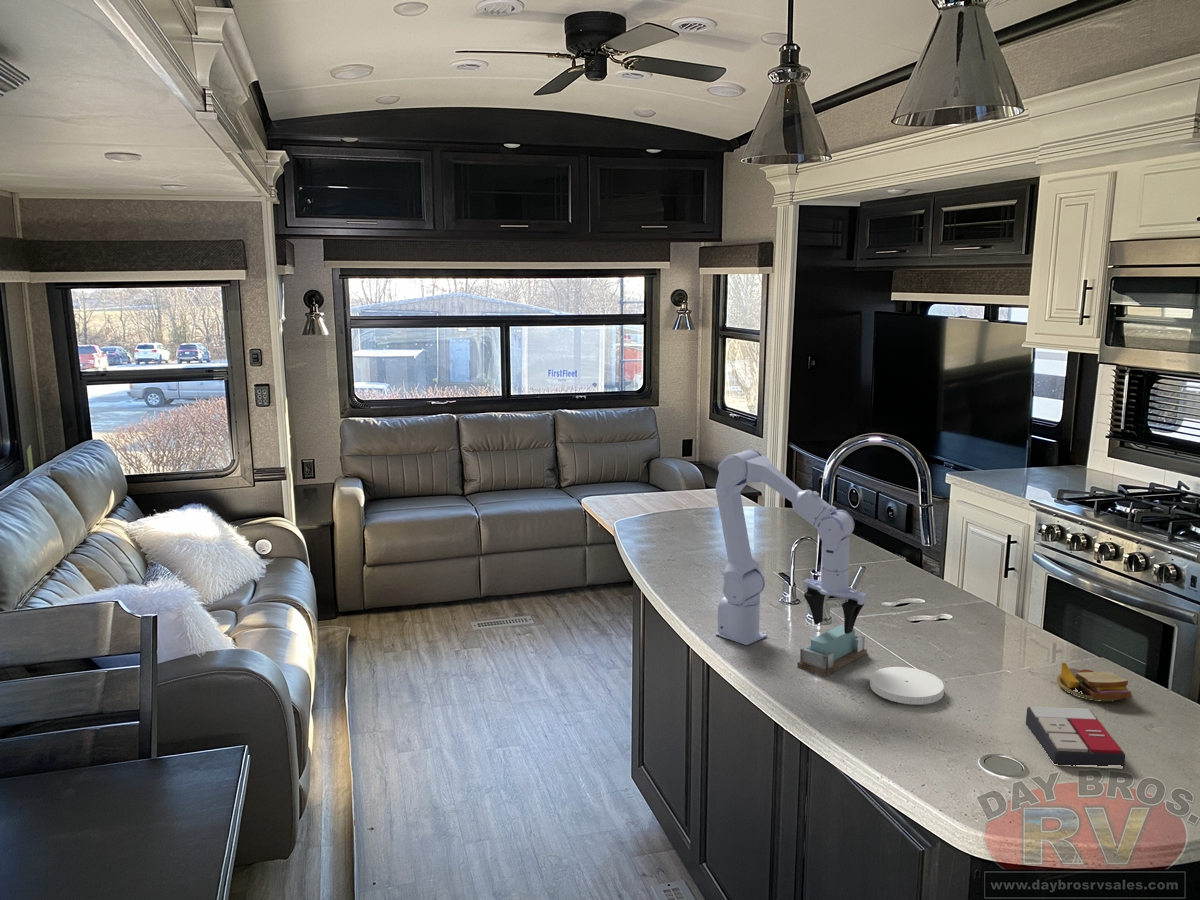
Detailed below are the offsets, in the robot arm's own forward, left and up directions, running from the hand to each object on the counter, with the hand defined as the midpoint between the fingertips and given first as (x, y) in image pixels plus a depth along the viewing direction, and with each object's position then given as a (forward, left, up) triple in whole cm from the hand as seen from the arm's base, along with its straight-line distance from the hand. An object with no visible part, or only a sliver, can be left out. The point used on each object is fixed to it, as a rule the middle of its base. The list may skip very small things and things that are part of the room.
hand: (833, 627), depth 192 cm
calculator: (+50, -2, -8) cm, 51 cm away
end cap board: (0, 0, -8) cm, 8 cm away
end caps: (0, 0, -8) cm, 8 cm away
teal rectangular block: (0, 0, -7) cm, 7 cm away
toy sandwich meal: (+45, +23, -8) cm, 51 cm away
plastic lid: (+19, -3, -8) cm, 21 cm away
